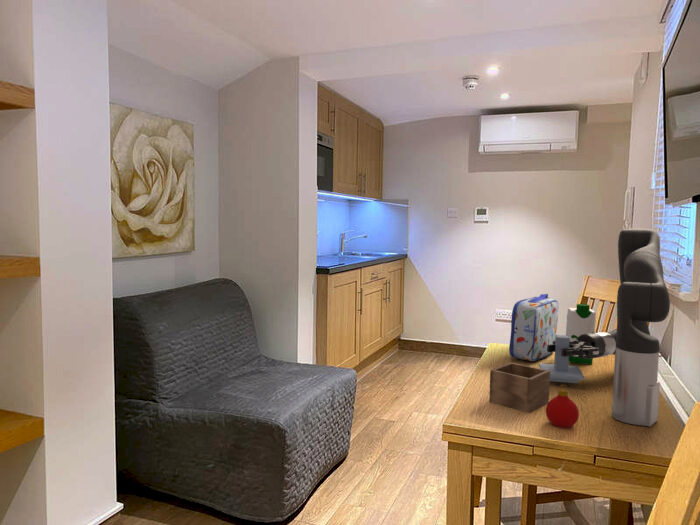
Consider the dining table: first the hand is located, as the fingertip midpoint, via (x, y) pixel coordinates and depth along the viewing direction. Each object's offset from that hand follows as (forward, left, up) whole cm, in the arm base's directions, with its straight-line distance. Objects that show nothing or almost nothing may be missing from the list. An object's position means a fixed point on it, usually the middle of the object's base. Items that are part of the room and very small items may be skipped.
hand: (555, 350), depth 152 cm
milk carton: (+5, -32, -10) cm, 34 cm away
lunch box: (+19, -27, -10) cm, 35 cm away
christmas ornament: (-15, +31, -10) cm, 36 cm away
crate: (-1, +24, -10) cm, 26 cm away
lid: (-1, -3, -8) cm, 9 cm away
